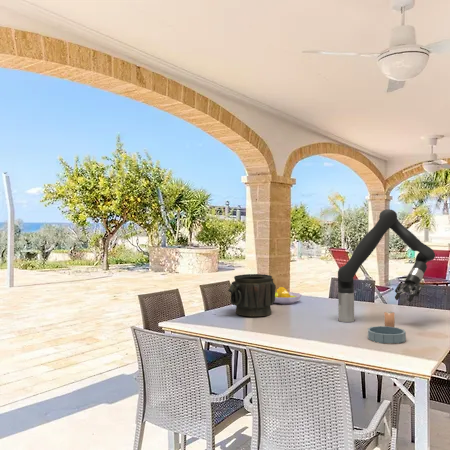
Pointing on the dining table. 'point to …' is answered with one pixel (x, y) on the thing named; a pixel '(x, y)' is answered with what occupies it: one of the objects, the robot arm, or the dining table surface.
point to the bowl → (386, 334)
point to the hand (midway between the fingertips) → (402, 300)
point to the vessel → (253, 294)
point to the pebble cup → (389, 319)
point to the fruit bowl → (285, 296)
